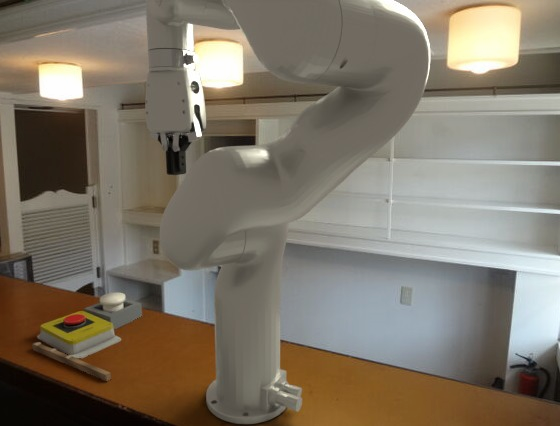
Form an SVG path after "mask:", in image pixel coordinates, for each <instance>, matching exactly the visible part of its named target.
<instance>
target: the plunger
mask: <svg viewBox="0 0 560 426" xmlns="http://www.w3.org/2000/svg"><path fill="white" fill-rule="evenodd" d="M125 299H126V294H125V293H123V292H109V293H105V294H103V295H100V297H99V303H100V304H101V305H103V311H105V312H108V313H114V312H116V311H118V310H121V309H123V308H124V307H123V303H124V302H125Z"/></svg>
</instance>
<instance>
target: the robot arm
mask: <svg viewBox="0 0 560 426" xmlns="http://www.w3.org/2000/svg"><path fill="white" fill-rule="evenodd" d="M145 17H146V33H147V34H146V36H147V37H146V39H147V55H148V72H147V75H146V82H145V83H146V84H145V99H144V100H145V102H144V103H145V105H144V106H145V110H144V112H145V123H146V128H147V130H149V131H150V133H149V138H150V139H151V140H154V141H157V142H159V143H160V145H161V148H162V150H163V152H165V162H166V165H165V166H166V175H170V176H178V175H185V176H184V177H183V179H182V181H181V182H180V184H179V185H178V187H177V189H176V190H175V192H174V193H173V195H172V196H171V198H170V200H169V202H168V203H167V205H166V207H165V209H164V212H163V213H162V215H161V221H160V225H159V243H160V247H161V250H162V252H163V254H164V256H165V258H166V259H167V260H168V262H170V264H172V265H173V266H174V267H176V268H178V269H179V270H182V271H189V272H191V271H192V272H193V271H198V270H199V271H200V270H205V269H210V268H215V267H220V266H221V268H220V269H219V272H218V274H217V277H216V280H215V284H214V290H213V291H214V292H213V295H214V296H213V297H214V298H213V300H214V301H213V304H214V305H213V306H214V307H213V308H214V344H215V345H214V346H215V347H214V348H215V350H214V351H215V379H214V380H213V381H212V382H211V383H210V384H209V385H208V387H207V389H206V393H205V398H206V406H207V408H208V410H209V411H210V413H212V414H213V415H214V416H215V417H216V418H218V419H220V420H222V421H225V422H229V423H232V424H236V425H237V424H238V425H254V424H259V423H264V422H267V421H270V420H272V419H274V418H276V417H277V416H279V415H281V414H282V413H283V412H284V411H285V410H286V409H289V410H291V411H294V412H297V413H298V412H299V411H300V410H301V408H302V405H303V397H301V396H302V393H303V388H302V387H300V386H297V385H294V384H293V385H292V384H290V383H289V382H288V381H287V370H285V369H282V368H281V301H282V299H281V295H282V294H281V290H282V289H281V287H282V269H283V268H282V267H283V262H284V261H283V260H284V255H285V254H284V253H285V249H286V244H287V239H288V233H289V223H292V222H295V221H297V220H298V221H299V220H300V219H301V218H304V216H306V215H307V214H308V213H309V212H310V211H311V210H313V209H314V208H316V206H317V205H318V204H319V203H320V202H321V201H323V200H324V199H325V198H326V197H327V196H329V194H331V192H333V191H334V190H335V189H336V188H337V187H338V186H339V185H341V184H342V183H343V182H344V181H345V180H346V179H347V178H349V176H350V175H352V174H353V172H355V171H356V170H357V169H358V168H359V167H360V166H361V165H362V164H364V163H365V162H366V161H367V160H369V159H370V158H371V157H372V156H373V155H375V154H376V153H377V152H379V151H380V150H381V149H382V148H383V147H385V145H386V144H388V143H389V142H390V141H391V140H392V139H393V138H394V137H395V136H396V135H397V134H398V133H399V132H401V130H402V129H403V128H404V126H406V124H407V123H408V121H409V120H410V119H411V117H412V116H413V114H414V113H415V111H416V109H417V108H418V105H419V104H420V102H421V100H422V98H423V95H424V92H425V89H426V87H427V83H428V79H429V73H430V69H431V68H430V67H431V65H430V64H431V48H430V46H431V45H430V41H429V37H428V34H427V30H426V29H425V27H424V25H423V23H422V22H421V20H420V19H419V18H418V16H417V15H416V14H415V13H414V12H412V11H411V10H410V9H408V7H406V6H404V5H403V4H400V3H399V2H397V1H395V0H145ZM195 25H196V26H202V27H208V28H214V29H219V30H227V31H231V30H232V31H234V30H241V32H242V34H243V37H245V40H246V41H247V43H248V44H249V47H250V48H251V50H252V52H253V54H254V56H255V57H256V58H257V59H258V61H259V62H260V64H261V65H262V66H263V67H264V68H265V69H266V71H268V72H269V73H270V74H271V75H273V76H275V77H277V78H279V79H280V80H283V81H285V82H286V81H287V82H290V83H296V84H304V85H305V84H306V85H318V86H329V87H335V89H333V90H332V91H331V92H329V93H328V94H326V95H324V96H323V97H321V98H320V99H318V100H317V101H314V102H313V103H311V104H310V105H308V106H307V107H306V108H305V109H304V110H302V111H301V112H299V113H298V115H296V117H295V118H294V119H293V120H292V122H291V123H290V125H289V126H288V127H287V128H286V130H285V131H283V133H282V134H280V136H278V137H277V138H276V139H275V140H273V141H271V142H269V143H263V144H256V145H255V144H254V145H234V146H233V145H231V146H222V147H217V148H214V149H211V150H209V151H207V152H206V153H204V154H202V155H200V156H199V157H198V158H197V159H196V160H195V161H194V162H193V164H192V165H191V167H190V168H189V170H188V171H187V158H186V157H187V155H186V152H187V151H189V149H190V146H191V144H192V143H193V142H196V141H199V140H202V135H203V134H202V133H203V132H204V131H205V130H206V128H207V114H206V102H205V94H204V89H203V83H202V77H201V75H200V73H199V72H198V71H196V64H197V63H199V59H200V58H199V56H198V55H197V54H196V53H195Z"/></svg>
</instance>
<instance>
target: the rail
mask: <svg viewBox="0 0 560 426" xmlns="http://www.w3.org/2000/svg"><path fill="white" fill-rule="evenodd" d="M32 350H33V351H34V352H36V353H39V354H41V355H42V356H46V357H48V358H50V359H53V360H54V361H58V362H60V363H62V364H64V363H65V365H67V364H68V365H67V366H69V365H70V367H71V366H73V367H72V368H74V367H75V368H74V369H76V368H77V369H76V370H78V369H79V371H80V372H83V371H84V372H83V373H85V372H86V374H88V375H90V374H91V375H90V376H92V375H94V376H93V377H95V376H96V377H95V378H97V379H99V378H100V380H102V381H104V382H106V381H107V382H109V381H111V380H112V376H111V371H110V372H109V371H108V370H105V369H103V368H100V367H98V366H95V365H93V364H91V363H88V362H86V361H83V360H81V359H76V358H74V357H73V356H72V355H67V354H65V353H64V352H62V351H60V350H58V349H56V348H55V347H53V348H52V347H49V346H47V345H45V344H42V342H40V341H38V342H33V343H32ZM110 379H111V380H110ZM108 380H109V381H108Z"/></svg>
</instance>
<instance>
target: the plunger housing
mask: <svg viewBox="0 0 560 426" xmlns="http://www.w3.org/2000/svg"><path fill="white" fill-rule="evenodd" d="M123 307H124V308H123V309H121V310H118V311H116V312H114V313H108V312H105V311H103V305H101V304H100V302H98V303H95V304H92V305H89V306H87V307H84V310H83V311H85V312H87V313H90V314H92V315H94V316H97V317H99V318H101V319H104V320H106V321H108V322H111V323H112V324H113V329H114V331H115V330H117V329H118V328H121V327H123V326H125V325H127V324H129V323H131V322H133V320H134V321H136V320H138V319H140V318H142V317H143V310H142V309H143V306H142V303H141V302H138V301H134V300H131V299H128V298H125V302H124V303H123ZM141 316H142V317H141ZM139 317H140V318H139ZM137 318H138V319H137ZM135 319H136V320H135Z"/></svg>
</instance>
